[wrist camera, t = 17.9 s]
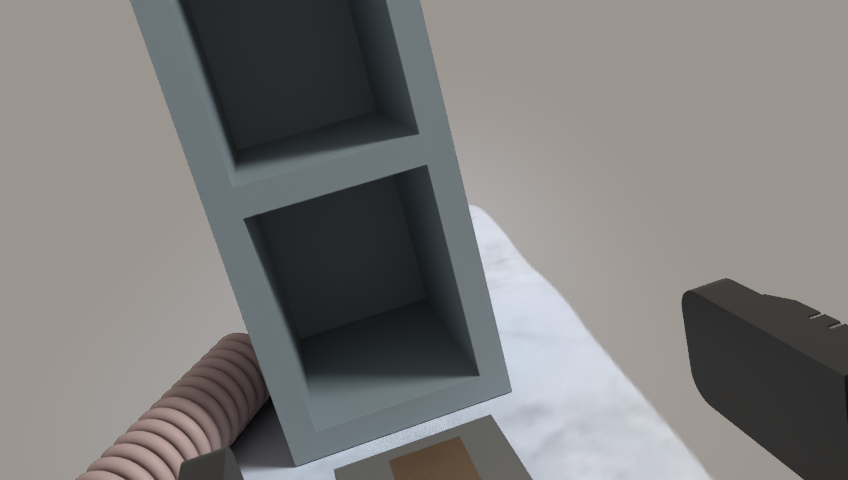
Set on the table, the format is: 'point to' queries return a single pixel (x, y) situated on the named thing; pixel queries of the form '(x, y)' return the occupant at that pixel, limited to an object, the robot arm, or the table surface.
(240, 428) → the coil
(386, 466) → the rubber mat
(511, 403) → the table surface
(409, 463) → the wooden plank with hole
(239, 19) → the tall grey-blue box
